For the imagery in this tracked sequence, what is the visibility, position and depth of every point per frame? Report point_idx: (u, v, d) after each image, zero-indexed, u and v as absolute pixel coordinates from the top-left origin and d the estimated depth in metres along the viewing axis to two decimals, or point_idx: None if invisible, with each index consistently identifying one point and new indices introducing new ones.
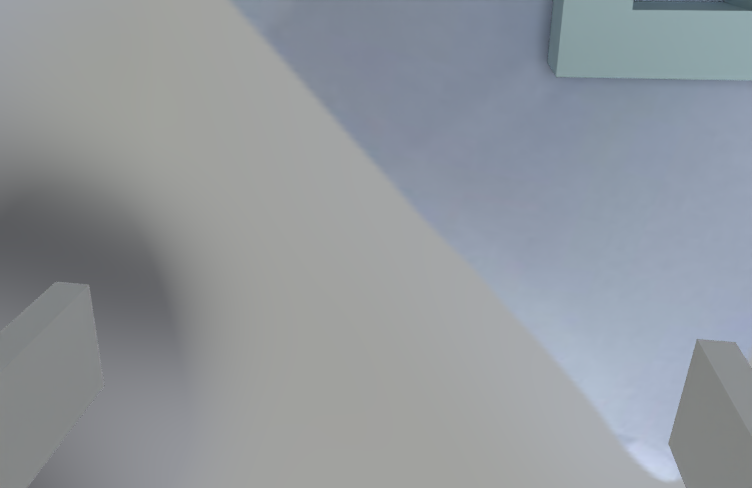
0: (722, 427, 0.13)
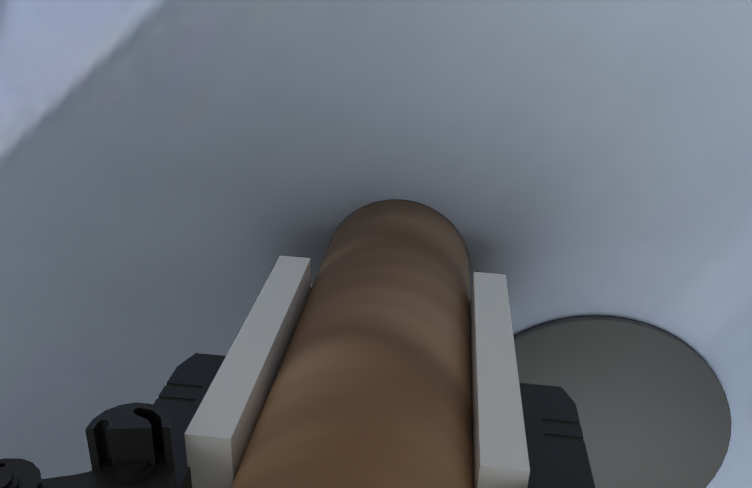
0: (472, 339, 0.15)
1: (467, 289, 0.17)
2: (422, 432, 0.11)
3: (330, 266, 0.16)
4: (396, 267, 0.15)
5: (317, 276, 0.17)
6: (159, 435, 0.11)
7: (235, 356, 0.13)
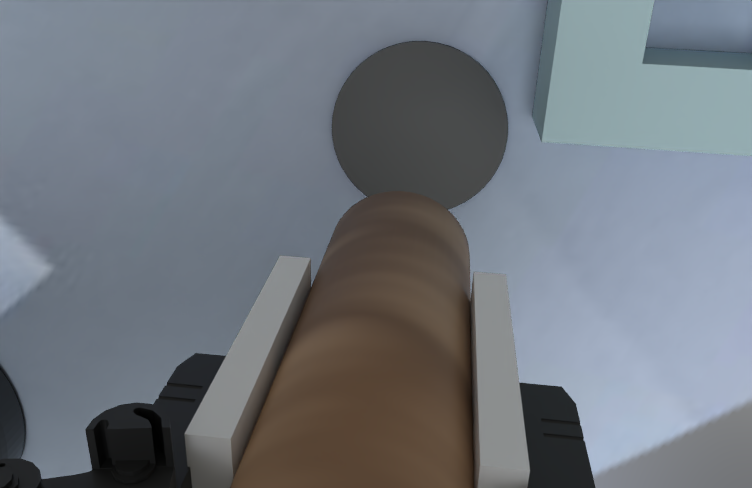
0: (472, 339, 0.15)
1: (467, 277, 0.18)
2: (425, 407, 0.11)
3: (334, 254, 0.17)
4: (398, 253, 0.16)
5: (321, 264, 0.17)
6: (159, 435, 0.11)
7: (235, 356, 0.13)
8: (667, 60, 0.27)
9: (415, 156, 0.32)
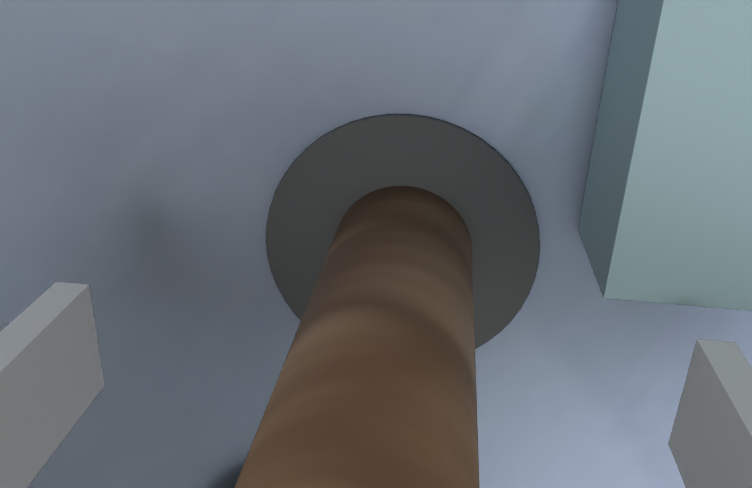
0: (722, 427, 0.13)
1: (470, 269, 0.18)
2: (430, 391, 0.12)
3: (340, 247, 0.17)
4: (403, 245, 0.16)
5: (327, 257, 0.18)
6: None
7: None
8: None
9: None
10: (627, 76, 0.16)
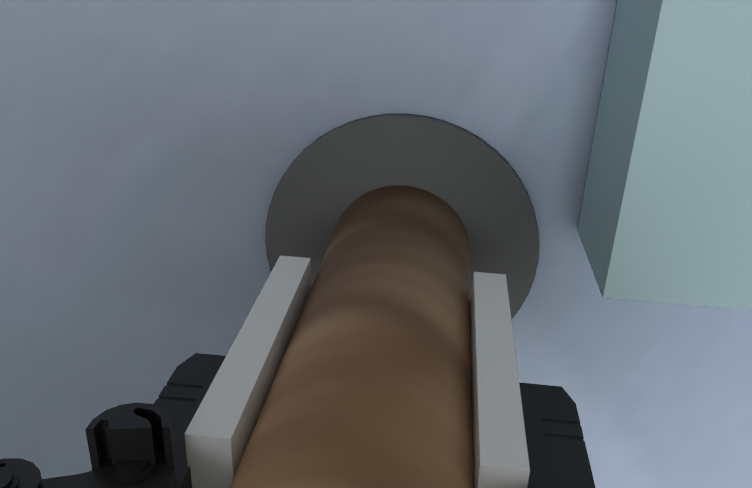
0: (472, 339, 0.15)
1: (467, 269, 0.18)
2: (426, 390, 0.12)
3: (337, 246, 0.17)
4: (399, 245, 0.16)
5: (324, 256, 0.18)
6: (159, 435, 0.11)
7: (235, 356, 0.13)
8: None
9: None
10: (626, 76, 0.16)
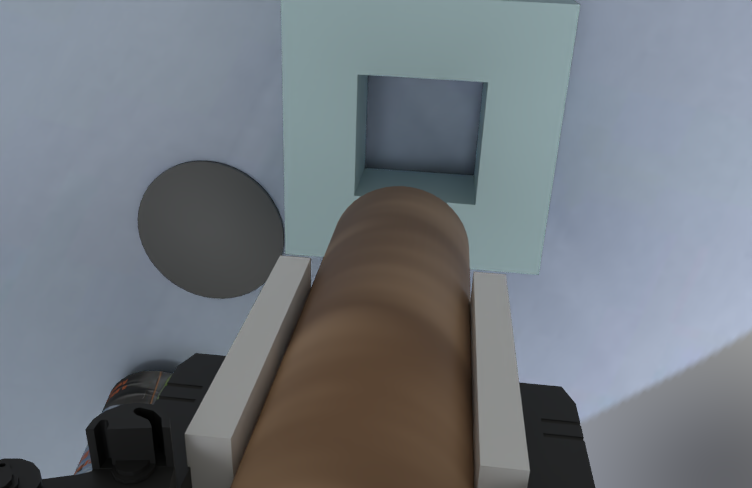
0: (472, 339, 0.15)
1: (467, 270, 0.18)
2: (426, 391, 0.12)
3: (337, 247, 0.17)
4: (399, 246, 0.16)
5: (324, 257, 0.18)
6: (159, 435, 0.11)
7: (235, 356, 0.13)
8: None
9: (209, 252, 0.38)
10: None
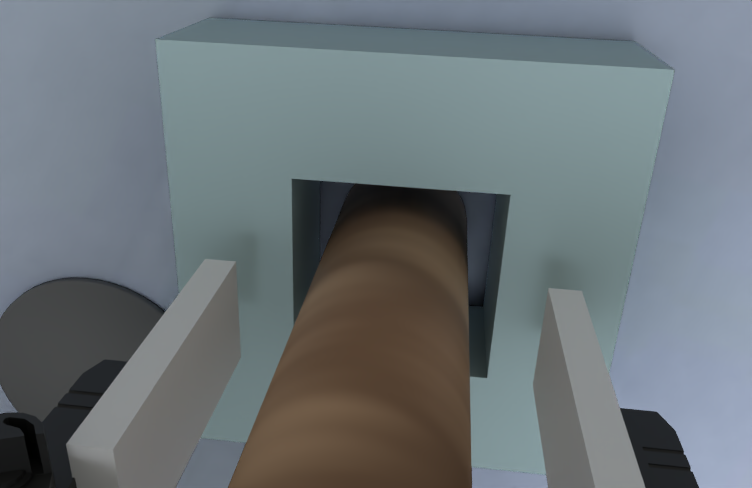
0: (554, 360, 0.14)
1: (464, 237, 0.20)
2: (427, 329, 0.14)
3: (347, 216, 0.19)
4: (404, 213, 0.18)
5: (335, 225, 0.20)
6: (33, 443, 0.11)
7: (136, 363, 0.13)
8: None
9: None
10: None
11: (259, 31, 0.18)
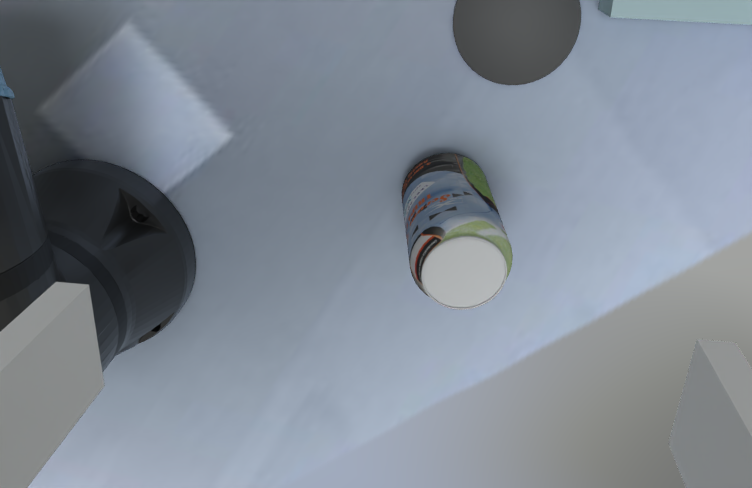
0: (721, 427, 0.13)
1: None
2: None
3: None
4: None
5: None
6: None
7: None
8: None
9: (512, 40, 0.45)
10: None
11: None
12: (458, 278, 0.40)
